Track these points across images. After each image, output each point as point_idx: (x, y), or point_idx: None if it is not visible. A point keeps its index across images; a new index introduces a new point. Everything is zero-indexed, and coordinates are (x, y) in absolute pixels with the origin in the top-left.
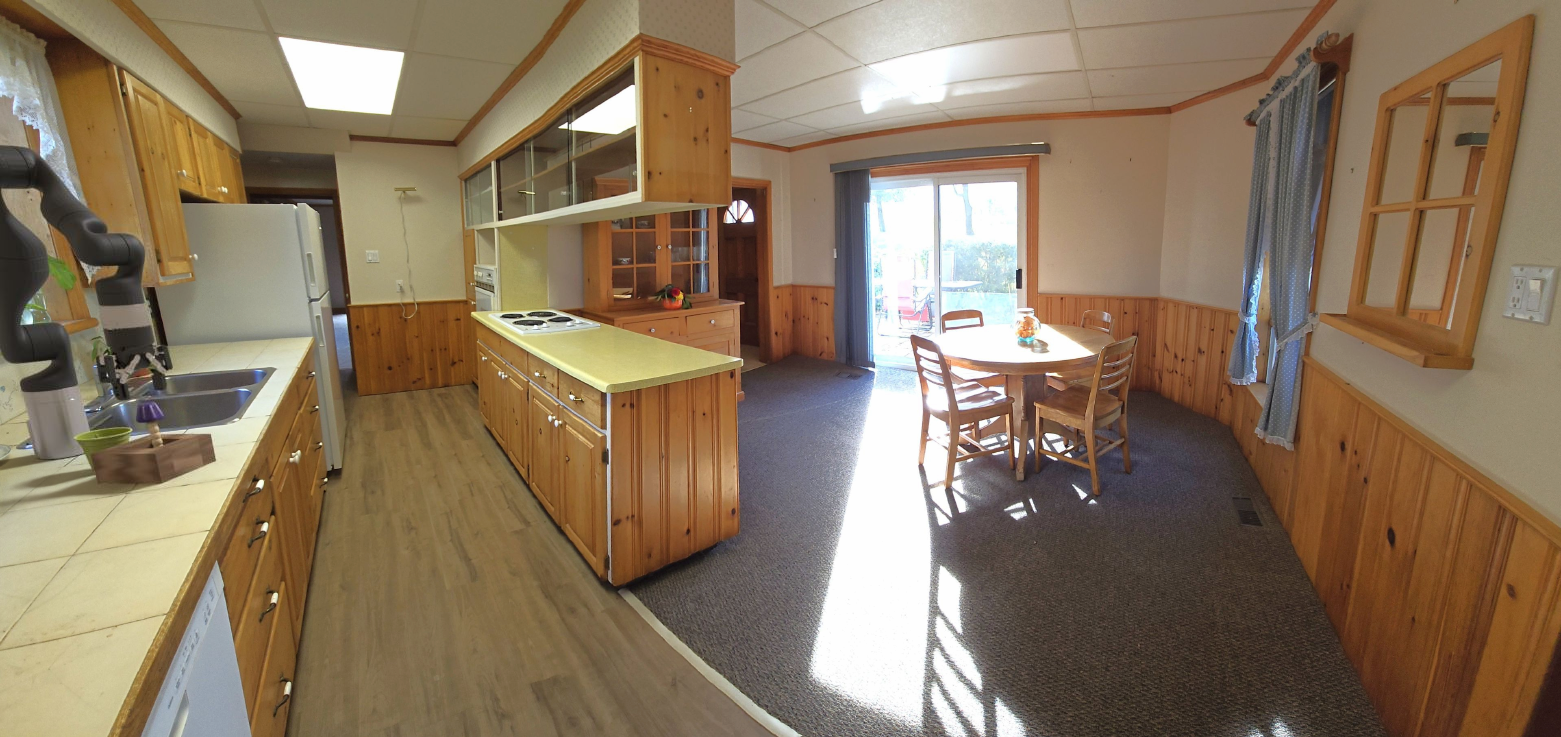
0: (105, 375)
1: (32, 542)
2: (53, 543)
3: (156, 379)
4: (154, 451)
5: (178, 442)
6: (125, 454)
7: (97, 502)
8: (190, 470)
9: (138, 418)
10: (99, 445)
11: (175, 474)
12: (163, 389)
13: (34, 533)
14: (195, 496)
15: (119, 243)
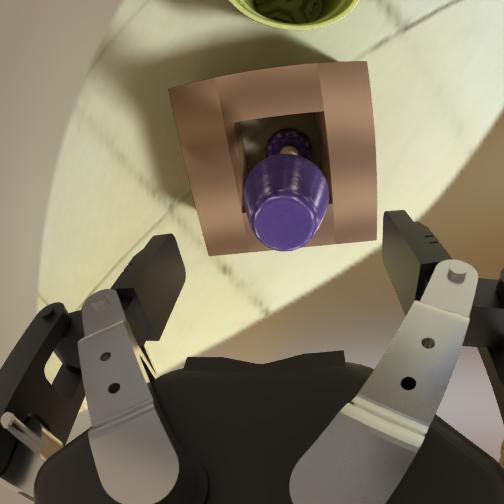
0: (49, 346)
1: (51, 261)
2: (61, 285)
3: (404, 273)
4: (221, 238)
5: None
6: (190, 183)
7: (130, 201)
8: None
9: (244, 195)
10: (247, 8)
11: None
12: (383, 259)
13: (56, 237)
14: (193, 321)
15: None
